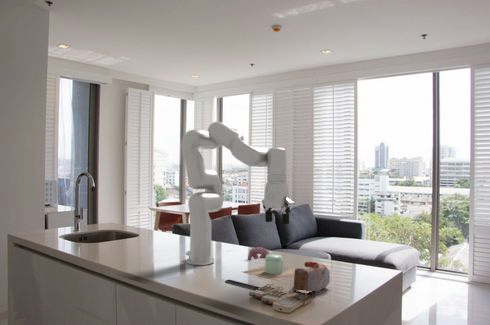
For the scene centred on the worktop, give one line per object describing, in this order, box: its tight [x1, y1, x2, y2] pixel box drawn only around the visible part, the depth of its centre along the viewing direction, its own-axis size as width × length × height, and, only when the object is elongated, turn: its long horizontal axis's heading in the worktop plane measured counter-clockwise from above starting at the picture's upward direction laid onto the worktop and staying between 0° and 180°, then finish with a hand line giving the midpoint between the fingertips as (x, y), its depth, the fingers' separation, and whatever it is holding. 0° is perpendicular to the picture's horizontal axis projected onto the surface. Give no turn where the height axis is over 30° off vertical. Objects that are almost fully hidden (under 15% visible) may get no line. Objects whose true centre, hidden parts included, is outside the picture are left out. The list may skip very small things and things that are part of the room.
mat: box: [224, 279, 261, 291], centre depth 145 cm, size 14×10×1 cm
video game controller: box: [247, 246, 271, 261], centre depth 185 cm, size 10×5×7 cm, turn 75°
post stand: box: [242, 265, 296, 282], centre depth 157 cm, size 18×18×6 cm
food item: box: [293, 261, 331, 293], centre depth 139 cm, size 14×8×10 cm, turn 138°
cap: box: [264, 254, 284, 274], centre depth 157 cm, size 7×7×6 cm
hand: (277, 222), depth 155 cm, fingers open, 9 cm apart
